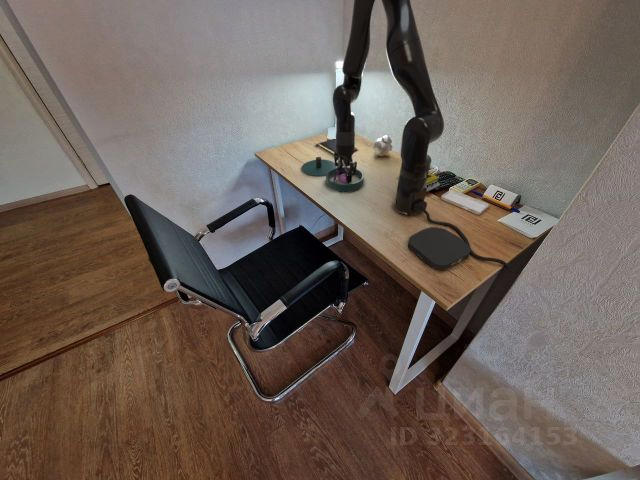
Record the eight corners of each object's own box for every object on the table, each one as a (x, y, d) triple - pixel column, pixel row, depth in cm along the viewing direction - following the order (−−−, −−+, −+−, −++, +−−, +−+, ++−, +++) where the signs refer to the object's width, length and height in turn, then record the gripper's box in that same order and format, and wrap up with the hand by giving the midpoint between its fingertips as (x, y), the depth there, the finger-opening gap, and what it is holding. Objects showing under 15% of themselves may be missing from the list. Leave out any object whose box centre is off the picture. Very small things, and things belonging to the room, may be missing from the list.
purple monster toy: (353, 164, 112) (334, 170, 109) (358, 173, 110) (340, 178, 107) (349, 176, 118) (332, 181, 115) (355, 184, 116) (337, 189, 113)
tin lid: (343, 171, 123) (343, 160, 119) (311, 181, 117) (310, 169, 114) (325, 158, 134) (325, 147, 131) (295, 167, 129) (294, 156, 125)
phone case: (488, 207, 96) (450, 192, 105) (489, 204, 95) (451, 189, 104) (478, 215, 93) (440, 199, 102) (480, 212, 92) (440, 196, 101)
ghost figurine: (386, 160, 129) (388, 140, 122) (369, 156, 133) (370, 137, 127) (394, 154, 134) (397, 134, 127) (377, 150, 139) (379, 131, 132)
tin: (370, 185, 112) (371, 177, 110) (338, 196, 107) (338, 188, 104) (349, 170, 123) (350, 163, 120) (319, 180, 117) (319, 173, 115)
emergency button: (427, 182, 103) (399, 169, 112) (425, 192, 106) (398, 178, 115) (443, 175, 106) (414, 163, 116) (440, 185, 109) (412, 172, 119)
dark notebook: (358, 147, 139) (334, 154, 133) (358, 150, 140) (334, 157, 135) (337, 136, 152) (315, 142, 147) (337, 139, 153) (315, 145, 148)
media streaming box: (435, 229, 88) (438, 222, 86) (473, 255, 78) (477, 248, 76) (402, 244, 83) (403, 237, 81) (438, 274, 73) (440, 267, 71)
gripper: (327, 137, 106) (328, 175, 117) (347, 149, 96) (346, 189, 108) (343, 133, 109) (343, 170, 120) (363, 144, 99) (361, 184, 110)
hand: (344, 179), depth 114 cm, fingers open, 6 cm apart
